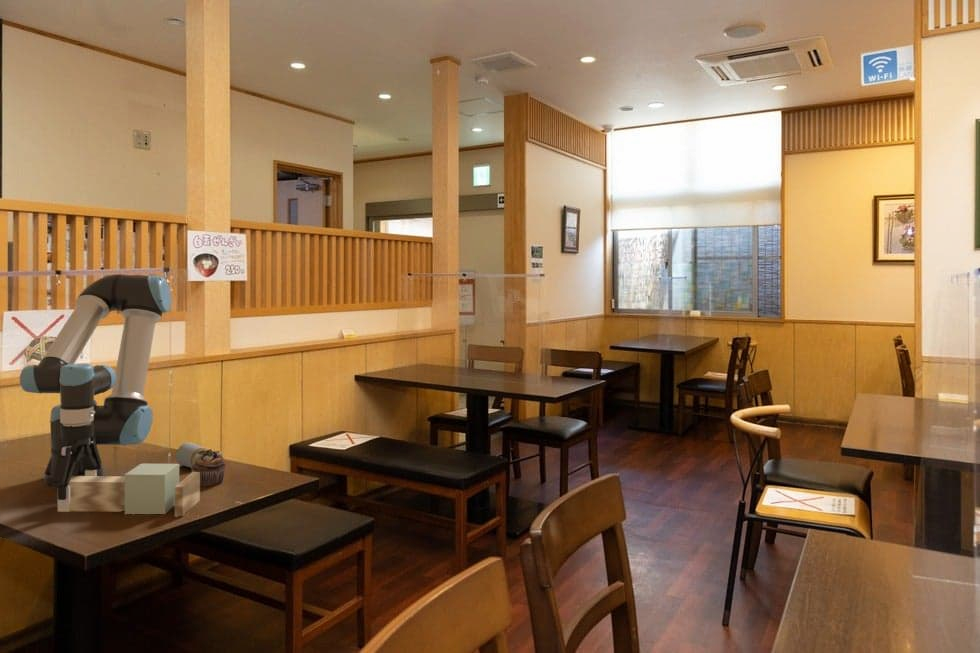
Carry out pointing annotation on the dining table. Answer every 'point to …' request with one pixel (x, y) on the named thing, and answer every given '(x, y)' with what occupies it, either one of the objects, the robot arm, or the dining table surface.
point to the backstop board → (187, 493)
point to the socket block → (151, 488)
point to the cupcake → (210, 467)
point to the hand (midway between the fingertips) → (78, 502)
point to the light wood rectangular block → (97, 493)
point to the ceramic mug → (188, 454)
